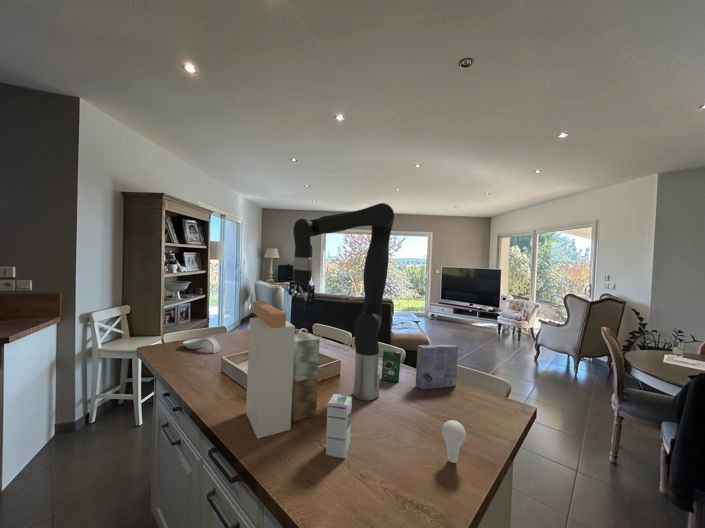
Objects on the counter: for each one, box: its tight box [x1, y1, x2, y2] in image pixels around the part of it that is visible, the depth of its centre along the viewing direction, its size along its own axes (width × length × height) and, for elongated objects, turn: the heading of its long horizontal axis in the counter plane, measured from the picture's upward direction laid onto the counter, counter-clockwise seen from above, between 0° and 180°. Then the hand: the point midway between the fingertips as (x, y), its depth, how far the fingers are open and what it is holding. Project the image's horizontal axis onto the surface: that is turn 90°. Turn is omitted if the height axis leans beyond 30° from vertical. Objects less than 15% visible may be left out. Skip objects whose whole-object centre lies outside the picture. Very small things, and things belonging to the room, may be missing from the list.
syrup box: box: [325, 393, 353, 459], centre depth 81 cm, size 6×6×14 cm
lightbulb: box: [441, 419, 467, 464], centre depth 79 cm, size 6×6×11 cm
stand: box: [245, 317, 296, 439], centre depth 94 cm, size 10×16×32 cm, turn 31°
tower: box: [291, 333, 321, 422], centre depth 100 cm, size 8×8×26 cm
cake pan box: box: [415, 344, 459, 390], centre depth 127 cm, size 19×5×18 cm, turn 108°
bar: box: [252, 300, 287, 328], centre depth 98 cm, size 26×4×4 cm, turn 31°
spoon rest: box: [182, 336, 221, 354], centre depth 161 cm, size 24×12×7 cm, turn 66°
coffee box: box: [380, 349, 402, 383], centre depth 131 cm, size 8×3×13 cm, turn 79°
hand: (300, 308), depth 120 cm, fingers open, 8 cm apart
